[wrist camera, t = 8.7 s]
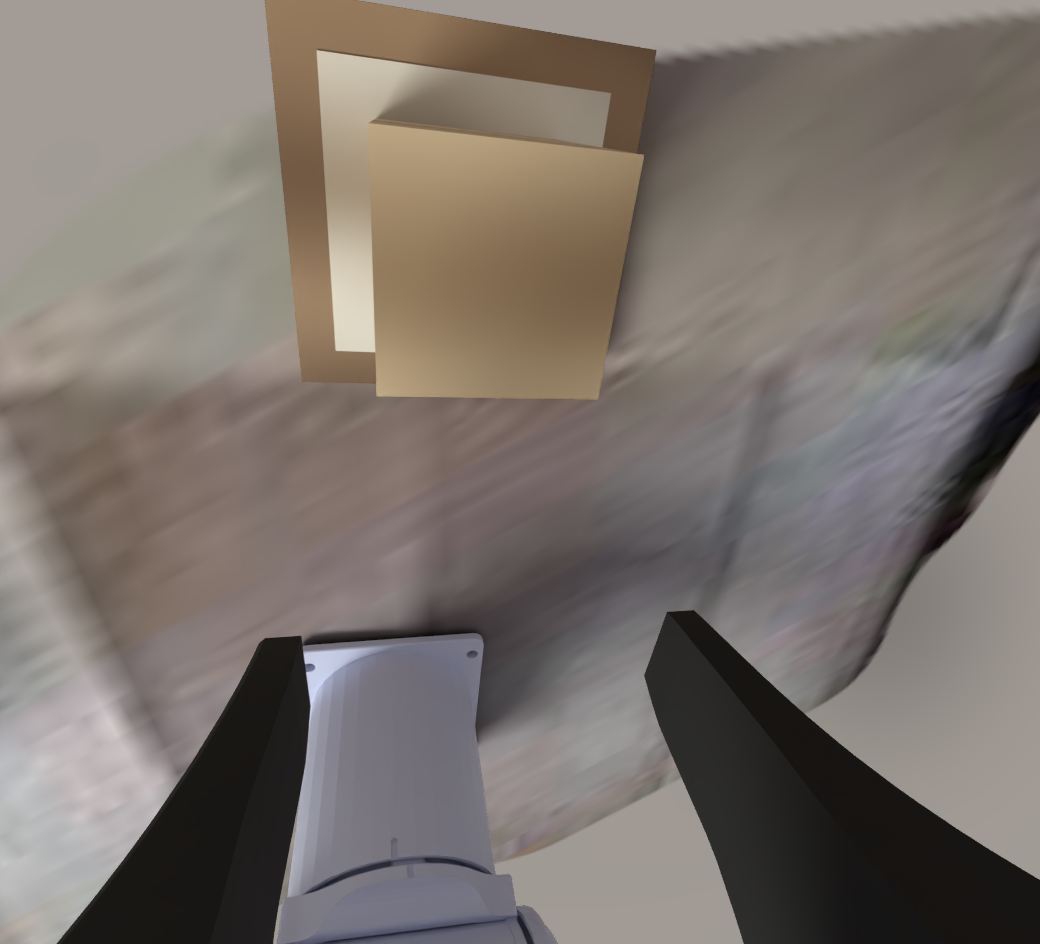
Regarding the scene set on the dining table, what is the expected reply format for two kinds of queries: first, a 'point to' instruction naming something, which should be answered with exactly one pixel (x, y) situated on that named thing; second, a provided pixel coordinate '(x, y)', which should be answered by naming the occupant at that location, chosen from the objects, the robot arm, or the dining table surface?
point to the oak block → (494, 260)
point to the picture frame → (417, 99)
